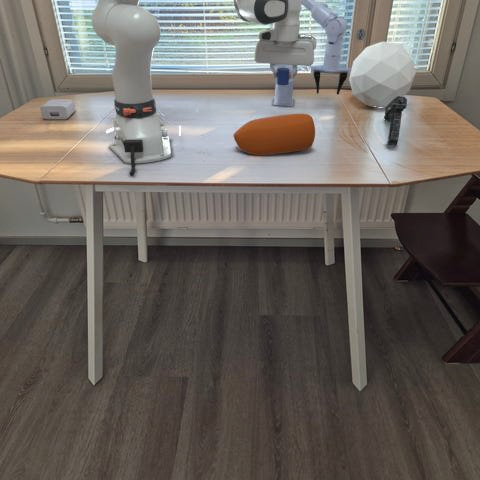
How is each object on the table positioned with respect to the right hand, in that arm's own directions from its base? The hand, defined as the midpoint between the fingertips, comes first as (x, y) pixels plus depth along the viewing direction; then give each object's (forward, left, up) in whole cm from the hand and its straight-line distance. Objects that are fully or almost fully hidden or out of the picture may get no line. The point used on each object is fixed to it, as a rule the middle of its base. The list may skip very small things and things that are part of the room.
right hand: (327, 93), depth 156 cm
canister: (+13, -17, +6) cm, 23 cm away
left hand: (+13, -17, +8) cm, 23 cm away
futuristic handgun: (+22, +21, -7) cm, 31 cm away
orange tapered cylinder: (+43, -17, -7) cm, 47 cm away
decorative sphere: (-11, +21, -7) cm, 25 cm away
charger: (+20, -99, -7) cm, 102 cm away
